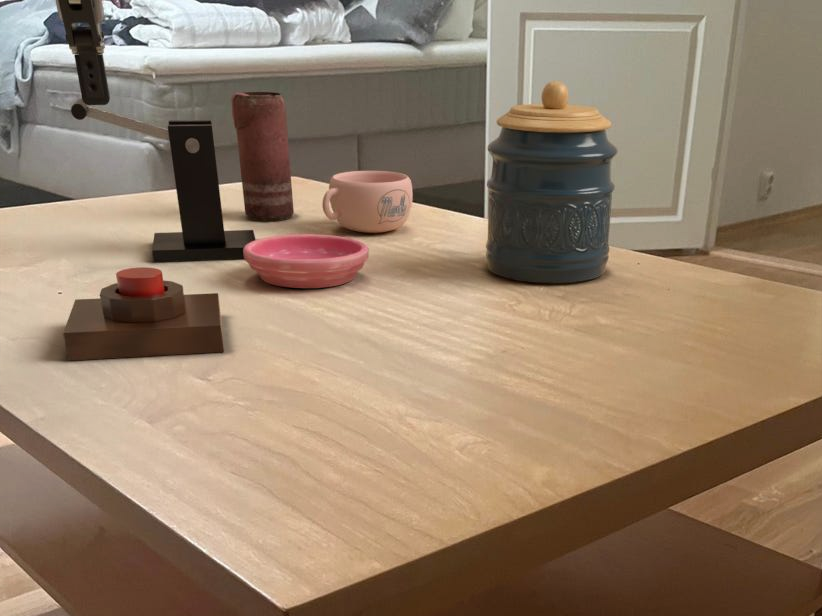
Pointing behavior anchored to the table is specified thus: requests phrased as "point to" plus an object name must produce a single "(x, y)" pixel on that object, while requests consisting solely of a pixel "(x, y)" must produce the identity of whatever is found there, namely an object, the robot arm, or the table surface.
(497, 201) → the canister
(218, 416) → the table surface
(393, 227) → the mug
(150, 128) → the lever
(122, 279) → the button
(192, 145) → the bracket
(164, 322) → the control block
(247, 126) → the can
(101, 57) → the robot arm
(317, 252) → the pink bowl
